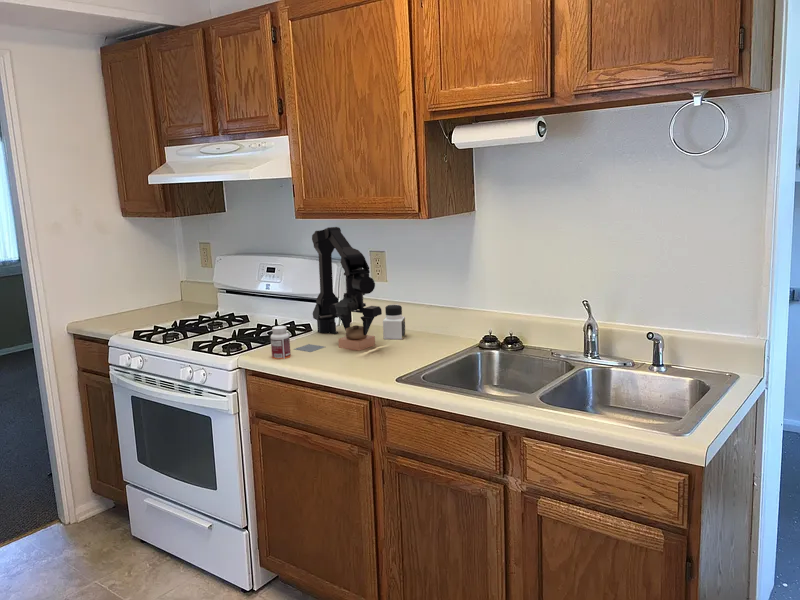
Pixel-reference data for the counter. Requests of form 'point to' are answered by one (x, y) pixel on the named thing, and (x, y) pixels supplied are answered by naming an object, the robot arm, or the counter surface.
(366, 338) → the salmon pink square box
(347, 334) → the walnut lid
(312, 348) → the coaster mat
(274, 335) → the pill bottle
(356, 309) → the robot arm
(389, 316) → the medicine bottle
